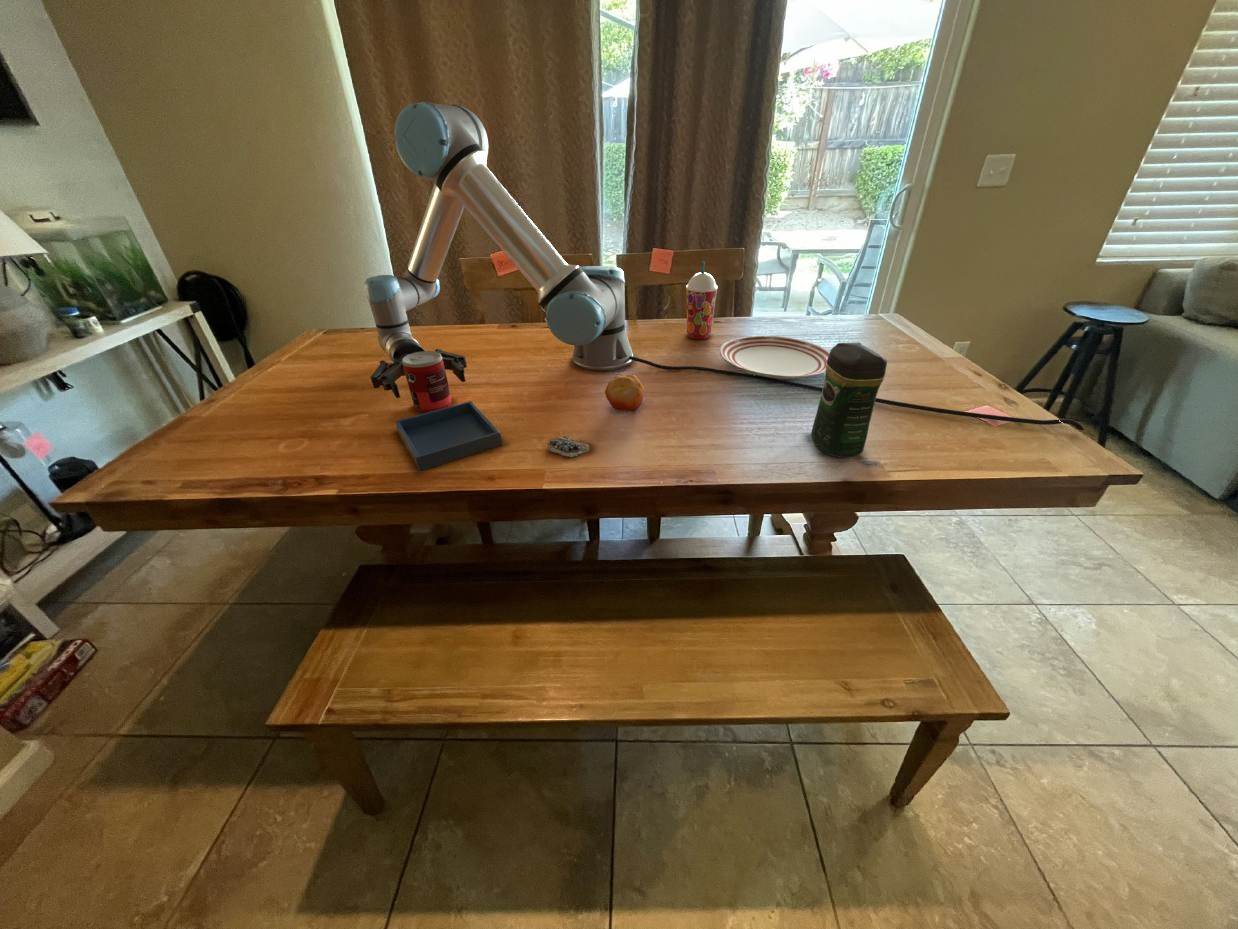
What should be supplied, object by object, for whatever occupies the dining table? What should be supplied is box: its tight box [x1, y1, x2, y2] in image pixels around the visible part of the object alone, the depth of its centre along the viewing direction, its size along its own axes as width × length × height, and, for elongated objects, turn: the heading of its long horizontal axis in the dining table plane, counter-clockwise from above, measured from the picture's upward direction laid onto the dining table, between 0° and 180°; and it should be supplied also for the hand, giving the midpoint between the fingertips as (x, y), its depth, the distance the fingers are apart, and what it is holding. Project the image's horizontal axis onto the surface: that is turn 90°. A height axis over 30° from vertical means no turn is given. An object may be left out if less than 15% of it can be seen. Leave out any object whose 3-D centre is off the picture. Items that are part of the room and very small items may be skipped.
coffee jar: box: [810, 341, 888, 458], centre depth 87 cm, size 10×8×19 cm
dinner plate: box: [719, 335, 830, 380], centre depth 123 cm, size 27×27×3 cm
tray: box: [394, 400, 503, 472], centre depth 96 cm, size 16×15×3 cm
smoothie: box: [685, 261, 718, 340], centre depth 138 cm, size 8×8×20 cm
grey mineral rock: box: [545, 435, 591, 458], centre depth 93 cm, size 7×8×2 cm
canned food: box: [402, 350, 452, 413], centre depth 107 cm, size 8×8×11 cm
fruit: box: [604, 373, 645, 412], centre depth 105 cm, size 8×8×8 cm
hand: (430, 383), depth 104 cm, fingers open, 13 cm apart
